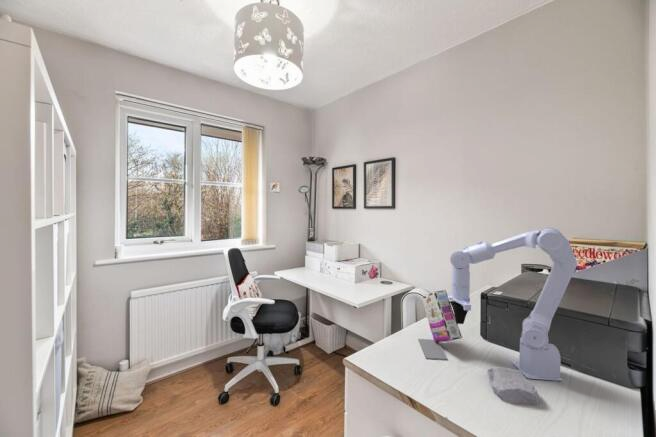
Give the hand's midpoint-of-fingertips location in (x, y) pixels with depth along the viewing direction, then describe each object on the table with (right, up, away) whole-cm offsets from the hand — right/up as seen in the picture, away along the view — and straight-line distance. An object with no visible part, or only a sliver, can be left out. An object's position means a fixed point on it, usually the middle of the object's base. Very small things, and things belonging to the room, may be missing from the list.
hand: (459, 323), depth 96 cm
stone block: (+4, -12, -19) cm, 23 cm away
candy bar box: (-3, -7, +1) cm, 8 cm away
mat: (-9, -10, +2) cm, 14 cm away
